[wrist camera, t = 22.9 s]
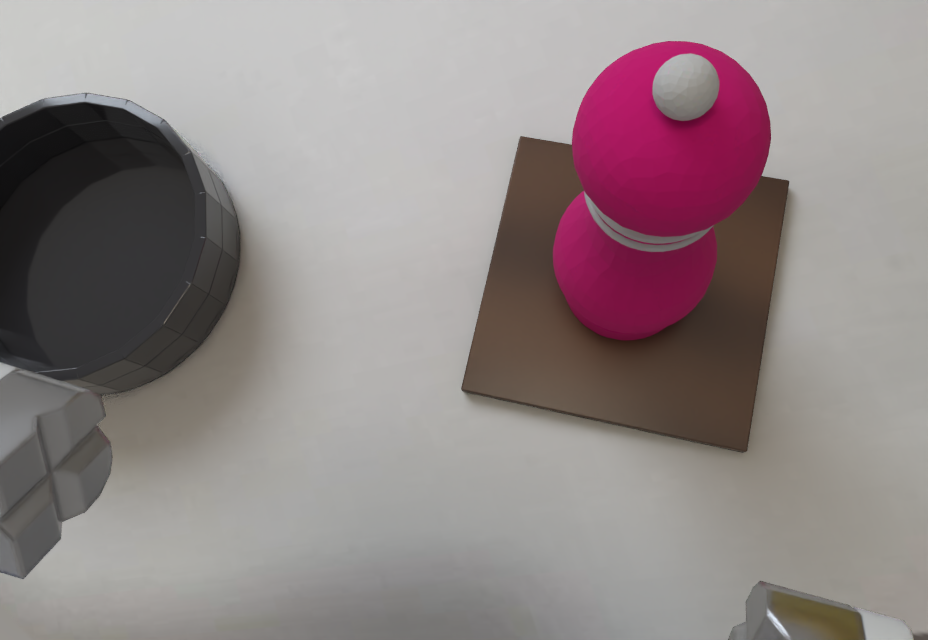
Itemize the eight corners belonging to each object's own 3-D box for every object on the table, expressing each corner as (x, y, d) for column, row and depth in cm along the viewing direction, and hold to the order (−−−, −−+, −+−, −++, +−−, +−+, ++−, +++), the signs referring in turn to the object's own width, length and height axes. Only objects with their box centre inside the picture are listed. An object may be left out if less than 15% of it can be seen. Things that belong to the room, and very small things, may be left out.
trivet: (744, 452, 39) (747, 452, 38) (462, 391, 41) (460, 389, 40) (786, 185, 41) (789, 180, 41) (520, 140, 43) (520, 135, 43)
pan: (193, 422, 42) (151, 413, 37) (-61, 363, 44) (-127, 347, 40) (272, 156, 45) (242, 118, 40) (32, 113, 47) (-22, 73, 43)
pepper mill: (725, 311, 40) (890, 121, 20) (593, 375, 40) (633, 246, 20) (654, 190, 41) (743, -91, 22) (528, 251, 41) (507, 23, 22)
